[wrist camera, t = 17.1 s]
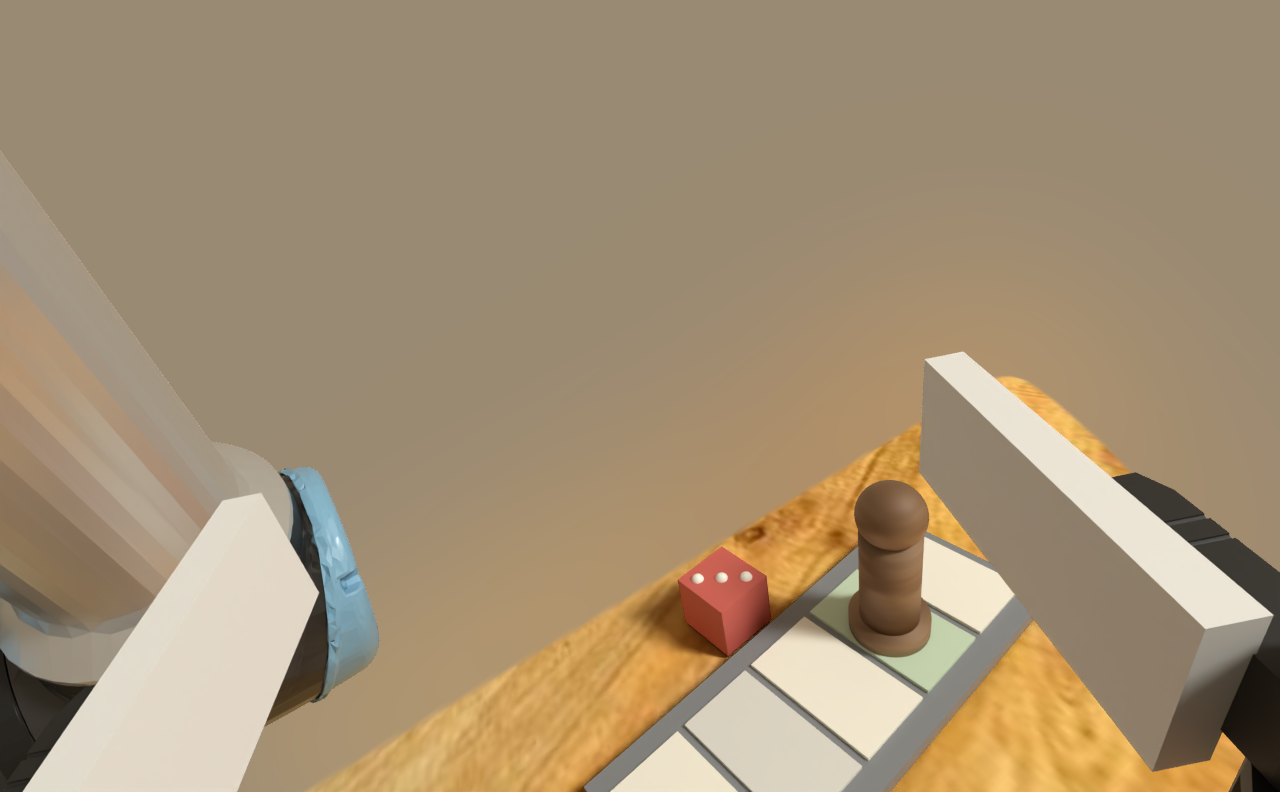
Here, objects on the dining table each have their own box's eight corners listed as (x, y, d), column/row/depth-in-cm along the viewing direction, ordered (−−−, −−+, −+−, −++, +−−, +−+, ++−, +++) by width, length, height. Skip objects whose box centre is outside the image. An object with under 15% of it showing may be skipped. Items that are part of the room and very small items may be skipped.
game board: (587, 796, 41) (582, 784, 40) (892, 524, 55) (893, 513, 55) (730, 983, 32) (728, 971, 31) (1048, 602, 47) (1050, 589, 46)
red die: (686, 622, 50) (677, 576, 48) (727, 588, 52) (721, 543, 50) (728, 656, 47) (720, 609, 45) (770, 619, 49) (766, 572, 47)
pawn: (832, 625, 46) (826, 491, 40) (879, 582, 49) (880, 450, 43) (899, 672, 43) (904, 532, 37) (947, 623, 45) (958, 484, 39)
